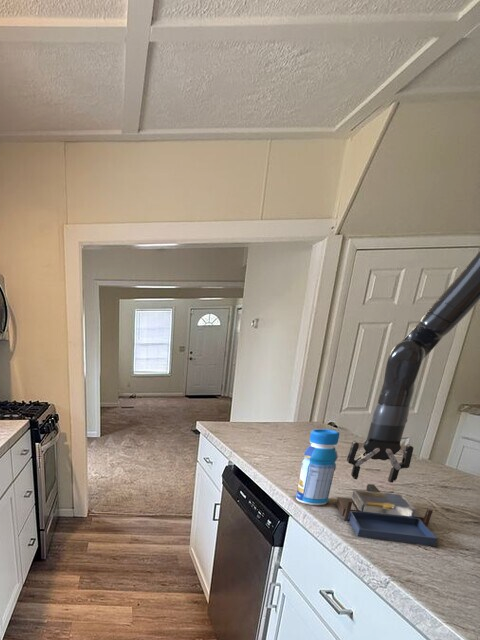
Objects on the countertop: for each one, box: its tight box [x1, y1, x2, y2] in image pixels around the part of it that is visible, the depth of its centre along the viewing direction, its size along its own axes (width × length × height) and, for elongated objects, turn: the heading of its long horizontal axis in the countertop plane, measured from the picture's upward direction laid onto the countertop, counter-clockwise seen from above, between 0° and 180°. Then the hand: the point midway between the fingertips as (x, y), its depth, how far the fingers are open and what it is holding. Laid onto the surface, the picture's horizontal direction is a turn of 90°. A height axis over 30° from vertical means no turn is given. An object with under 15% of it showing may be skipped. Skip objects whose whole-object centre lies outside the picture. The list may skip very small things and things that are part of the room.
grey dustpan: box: [351, 483, 416, 518], centre depth 106 cm, size 11×18×2 cm, turn 159°
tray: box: [348, 511, 439, 547], centre depth 96 cm, size 15×12×2 cm
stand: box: [335, 496, 434, 528], centre depth 104 cm, size 17×13×5 cm
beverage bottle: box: [295, 428, 340, 506], centre depth 111 cm, size 8×8×20 cm
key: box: [366, 502, 395, 508], centre depth 104 cm, size 6×3×1 cm, turn 69°
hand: (372, 480), depth 112 cm, fingers open, 8 cm apart
